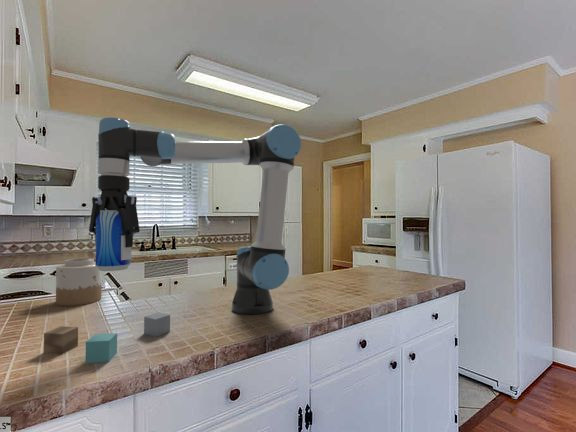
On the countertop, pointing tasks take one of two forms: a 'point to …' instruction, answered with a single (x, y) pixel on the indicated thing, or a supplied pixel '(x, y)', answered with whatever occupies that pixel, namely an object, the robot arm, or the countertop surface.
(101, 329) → the countertop surface
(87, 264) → the vase
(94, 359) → the teal cube
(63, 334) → the walnut cube
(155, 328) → the grey cube
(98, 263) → the beer can
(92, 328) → the countertop surface
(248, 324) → the countertop surface
